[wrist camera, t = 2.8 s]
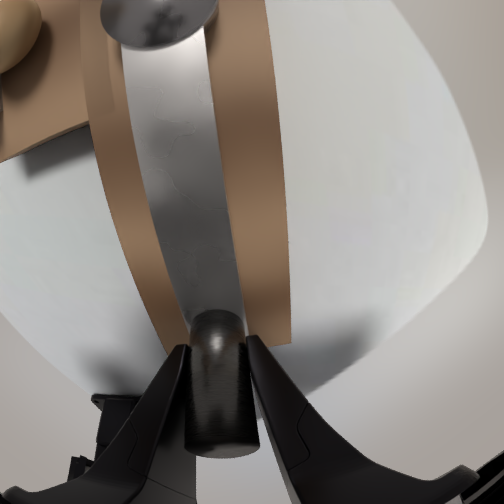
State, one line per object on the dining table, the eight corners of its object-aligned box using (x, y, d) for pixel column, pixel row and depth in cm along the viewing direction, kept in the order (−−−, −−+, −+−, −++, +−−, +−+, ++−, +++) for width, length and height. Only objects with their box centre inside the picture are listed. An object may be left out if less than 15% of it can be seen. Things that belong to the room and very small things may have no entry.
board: (283, 315, 14) (305, 394, 10) (97, 335, 14) (74, 403, 10) (245, -51, 5) (262, -119, 1) (14, 28, 5) (-54, 20, 1)
